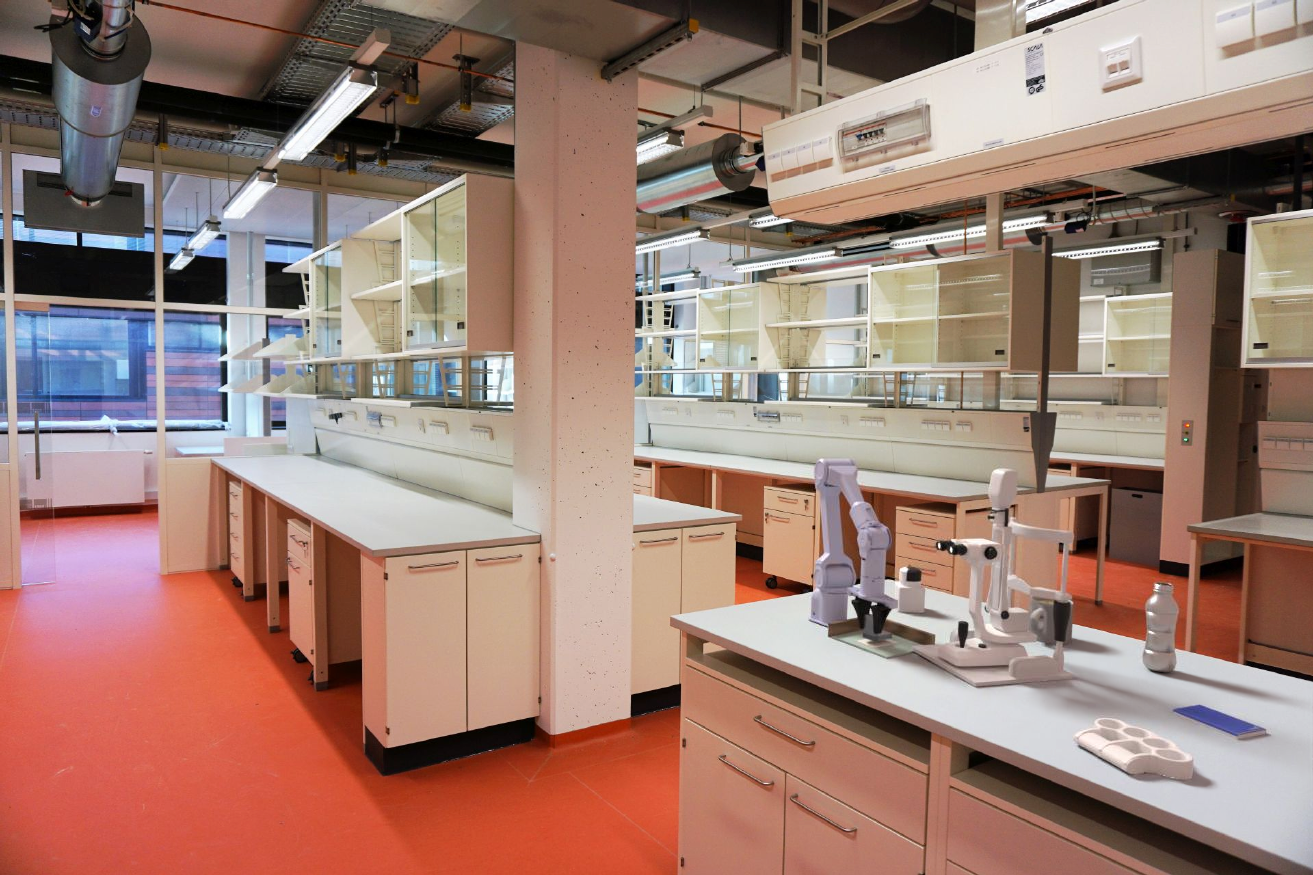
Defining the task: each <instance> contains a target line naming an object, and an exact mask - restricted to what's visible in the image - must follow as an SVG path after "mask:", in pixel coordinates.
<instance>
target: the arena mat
mask: <svg viewBox="0 0 1313 875" xmlns="http://www.w3.org/2000/svg"><path fill="white" fill-rule="evenodd" d="M830 638H831V639H834V640H836V641H839V642H840V643H844V644H847V645H850V646H852V647H855V648H858V649H860V650H863V651H866V652H868V653H871V654H874V655H876V656H879V657H882V658H884V659H891V658H895V657H899V656H905V655H909V654H913V653H915V652H914V651H913V650H911V646H919V645H921V644H918V643H916V642H913V641H910V640H907V639H904V638H901V637H898V636H895V635H892V638H891V639H886V640H881V641H877V642H874V641H871V640H868V639H866V638H863V630H860V631H855V632H850V633H845V634H840V635H835V636H831V637H830Z"/></svg>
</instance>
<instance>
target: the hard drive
mask: <svg viewBox="0 0 1313 875" xmlns="http://www.w3.org/2000/svg"><path fill="white" fill-rule="evenodd" d="M1174 714H1175V715H1174ZM1172 715H1174V716H1177V717H1180V718H1182V719H1185V720H1187V721H1189V722H1193V723H1195V724H1196V725H1198V726H1199V725H1200V726H1202V727H1205V728H1207V729H1210V730H1212V731H1215V732H1217V733H1219V734H1222V735H1225V736H1227V737H1230V738H1233V739H1235V740H1240V739H1241V740H1242V739H1246V738H1251V737H1255V736H1260V735H1266V734H1267V729H1266V728H1264V727H1261V726H1258V725H1255V724H1253V723H1251V722H1248V721H1245V720H1244V719H1243V720H1242V719H1240V718H1237V717H1234V716H1232V715H1230V714H1226V713H1223V712H1221V711H1219V710H1215V709H1213V708H1210V707H1207V706H1204V705H1202V704H1195V705H1189V706H1185V707H1184V706H1182V707H1177V708H1173V710H1172Z"/></svg>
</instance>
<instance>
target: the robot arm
mask: <svg viewBox="0 0 1313 875" xmlns="http://www.w3.org/2000/svg"><path fill="white" fill-rule="evenodd" d="M858 470H859V469H858V467H857V464H856V462H855V460H854V459H853V458H850V457H849V458H824V457H822V458H819V459H818V460H816V463H815V465H814V468H813V475H814V478H813V479H814V485H815V490H817V491H818V492H819V506H820V518H821V530H822V532H821V533H822V541H823V542H822V543H823V554H822V555H821V556H820V557H818V559H816V560H815V562H814V572H813V581H814V584H815V586H816V588H815V589H814V590H813V592H812V594H811V599H810V600H811V601H810V617H808V621H810V622H813V623H817V624H819V625H821V626H824V627H827V628H828V623H830V622H836V621H841V620H847V619H848V604H849V598H848V597H855V598H854V599H851V605H852V606H853V609H854V612H855V615H856V618H858V622H859V627H860V629H863V615H864V613H869V614H872V615H873V632H874V634H880V633H882V629H883V626H884V623H885V621H886V619H888V617H889V614H890V613H891V611H892V610H894V609H896V608H898V600H896V599H894V598H893V597H891V596H889V595H887V594H885V586H886V585H885V584H886V582H885V581H886V562H887V558H886V557H887V551H888V550H889V549H890V548H891V546H892V542H893V540H892V534H891V533H892V532H891V531H890V529H889V527H888V526H886V525H884V524H883V523H881V522H880V520H879V518H878V517H877V515H876V512H875V511H874V508H873V506H872V505H871V503H870V502H866V501H865V499H864V496H863V494H862V490H861V489H860V486H859V483H858V481H857V478H858ZM841 492H842V494H843V496H844V497H845V499H846V500H847V503H848V505H849V506H850V510H849V516H850V518H851V520H852V522H853V524H854V527H855V529H856V530H857V533H858V534H857V539H856V540H857V545H858V548H859V552H858V553H859V556H860V557H861V559H860V560H861V562H860V564H861V565H860V586H859V588H858V587H855V584H856V582H857V574H856V571H855V568H854V563H853V560H852V558H850V557H848V556H847V555H846V554H845V552H844V542H843V532H842V530H843V529H842V520H841V519H842V518H841V506H840V493H841ZM873 603H875V604H873ZM870 612H871V613H870Z"/></svg>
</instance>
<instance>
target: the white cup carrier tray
mask: <svg viewBox="0 0 1313 875" xmlns="http://www.w3.org/2000/svg"><path fill="white" fill-rule="evenodd" d="M1072 740H1073V742H1074V743H1076V745H1078V746H1080V747H1081V748H1083V749H1086V750H1088V751H1090V752H1091V753H1093V754H1095V755H1096V756H1098V757H1099V758H1101V759H1103V760H1104V761H1107V762H1109V763H1110V764H1112V765H1114V766H1116V767H1118V768H1119V769H1120V770H1123V771H1124V772H1126V773H1127V774H1129V775H1132V774H1135V775H1138V774H1137V773H1142V774H1146V772H1147V773H1149V772H1151V774H1155V773H1158V774H1157V775H1159V774H1161V775H1165V776H1167V777H1166V778H1168V777H1174V778H1177V779H1176V780H1179V779H1186V780H1189V778H1190V777H1192V778H1193V772H1194V757H1193V756H1192V754H1189V753H1187V752H1185V751H1183V750H1181V749H1180V748H1179V747H1178V745H1177V744H1176V743H1174V742H1173V741H1172V740H1169V739H1166V738H1163V737H1161V736H1159V735H1157V734H1156V733H1155V732H1154V731H1150V730H1148V729H1145V728H1141V727H1138V726H1134V725H1131V724H1128V723H1126V722H1125V721H1123V720H1120V719H1116V718H1109V717H1101V718H1097V719H1095V721H1094V727H1091V728H1086V729H1083V730H1080V731H1078V732H1076V733H1075V734H1074V736H1073V739H1072ZM1144 772H1145V773H1144ZM1161 775H1160V776H1161ZM1190 779H1191V778H1190Z"/></svg>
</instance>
